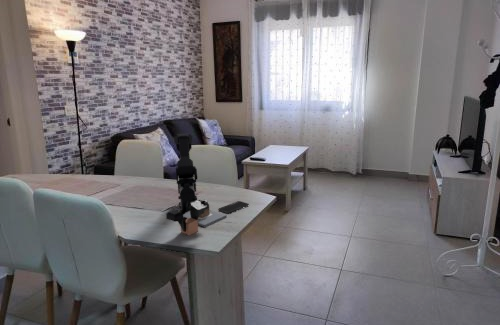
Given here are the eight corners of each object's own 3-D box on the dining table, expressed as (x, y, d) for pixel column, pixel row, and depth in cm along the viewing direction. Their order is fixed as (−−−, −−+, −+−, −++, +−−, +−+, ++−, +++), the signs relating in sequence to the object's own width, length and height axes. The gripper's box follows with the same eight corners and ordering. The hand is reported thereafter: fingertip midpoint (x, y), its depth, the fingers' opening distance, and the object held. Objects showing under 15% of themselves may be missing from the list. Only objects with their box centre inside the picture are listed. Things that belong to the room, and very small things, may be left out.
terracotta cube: (181, 232, 147) (180, 221, 146) (190, 228, 151) (189, 217, 150) (189, 235, 144) (188, 223, 143) (198, 231, 148) (197, 220, 147)
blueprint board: (177, 217, 163) (177, 215, 162) (199, 208, 173) (199, 206, 173) (204, 227, 152) (204, 224, 151) (226, 217, 162) (226, 214, 162)
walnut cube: (194, 215, 162) (193, 205, 161) (202, 212, 166) (201, 202, 164) (201, 218, 159) (201, 207, 158) (209, 214, 163) (209, 204, 161)
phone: (217, 208, 171) (238, 200, 182) (217, 211, 171) (238, 202, 182) (228, 212, 166) (250, 204, 176) (228, 215, 166) (250, 206, 177)
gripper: (182, 204, 132) (185, 242, 135) (217, 191, 146) (218, 226, 150) (164, 198, 138) (167, 235, 142) (198, 187, 153) (200, 220, 156)
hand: (189, 229), depth 147 cm, fingers closed on terracotta cube, 5 cm apart
